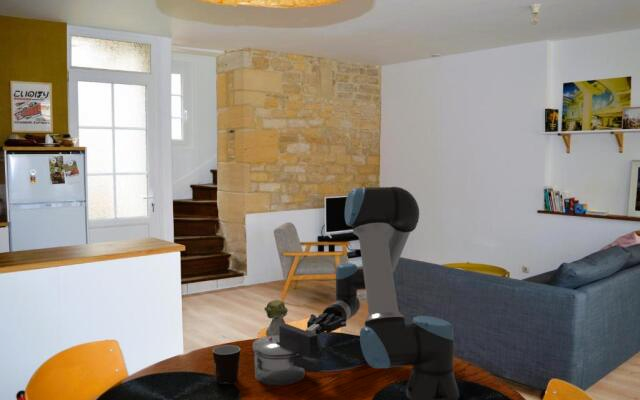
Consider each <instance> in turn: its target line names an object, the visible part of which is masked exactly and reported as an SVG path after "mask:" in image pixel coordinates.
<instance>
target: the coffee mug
mask: <svg viewBox="0 0 640 400" xmlns="http://www.w3.org/2000/svg"><path fill="white" fill-rule="evenodd" d="M240 356H241V347H239V346H237V345H235V344H233V345H232V344H225V345H224V344H223V345H220V346H216V347H214V348H213V349H212V357H213V364H214V365H213V366H214V371H215V377H216V378H215V379H216V381H217V380H218V381H219V382H230V383H233V384H235V383H237V382H238V378H239V377H238V375H239V369H240V366H239V365H240V358H241V357H240Z"/></svg>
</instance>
